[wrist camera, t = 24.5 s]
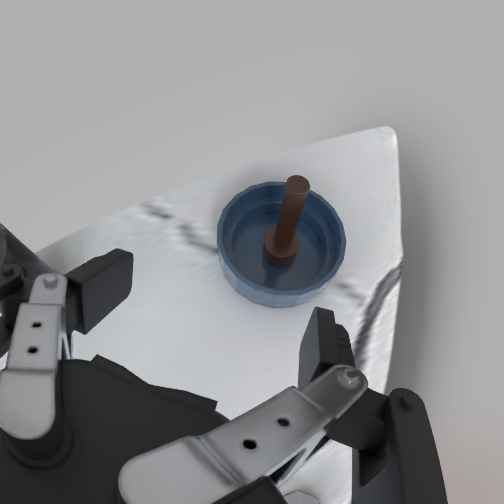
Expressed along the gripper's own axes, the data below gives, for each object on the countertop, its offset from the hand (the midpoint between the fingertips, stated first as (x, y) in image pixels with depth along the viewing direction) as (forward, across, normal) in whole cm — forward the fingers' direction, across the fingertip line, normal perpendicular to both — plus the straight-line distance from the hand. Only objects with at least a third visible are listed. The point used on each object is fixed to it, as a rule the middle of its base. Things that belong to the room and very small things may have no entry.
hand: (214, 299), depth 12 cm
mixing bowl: (+27, -2, +6) cm, 28 cm away
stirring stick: (+27, -2, +6) cm, 27 cm away
